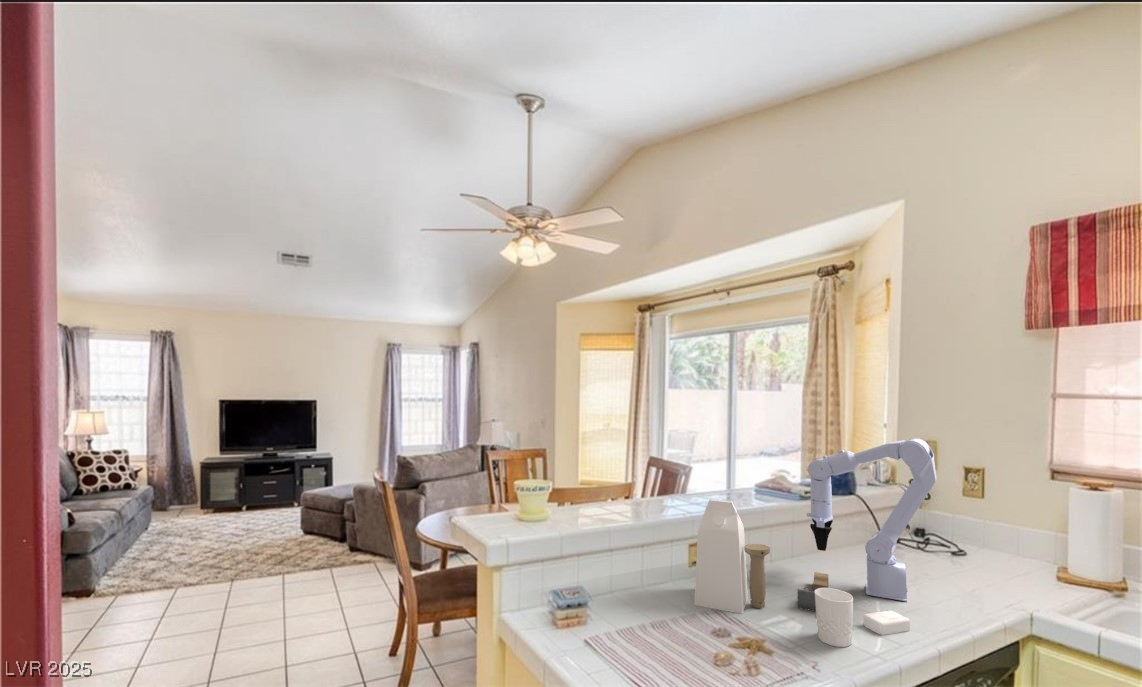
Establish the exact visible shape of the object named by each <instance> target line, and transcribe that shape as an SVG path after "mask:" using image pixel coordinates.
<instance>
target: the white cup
mask: <svg viewBox="0 0 1142 687" xmlns="http://www.w3.org/2000/svg"><path fill="white" fill-rule="evenodd" d="M815 606H816V611H815V615H816V616H815V618H816V625H817V635H818V639H819V640H820V641H822V642H823V643H824V644H827V645H830V646H832V647H836V648H847V647H849V646H850V645H851V644H852V642H853V641H852V637H853V636H852V634H853V633H852V631H853V622H854V597H853V595H852V594H851V593H849V592H846V591H844V590H842V589H838V588H833V587H829V588H818V589H816V590H815Z"/></svg>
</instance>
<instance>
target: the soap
mask: <svg viewBox="0 0 1142 687" xmlns="http://www.w3.org/2000/svg"><path fill="white" fill-rule="evenodd" d="M863 626H864V627H865V628H867V629H870V630H871V631H873V632H875V633H876V632H877V634H878V633H879V635H880V634H881V635H880V636H885V634H887V635H892V634H891V633H893V634H898V633H905V632H910V630H911V621H910V618H908V617H905V616H904V615H901V614H900V613H898V612H895V611H894V610H884V611H876V612H870V613H864V614H863Z"/></svg>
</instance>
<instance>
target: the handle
mask: <svg viewBox="0 0 1142 687" xmlns="http://www.w3.org/2000/svg"><path fill="white" fill-rule="evenodd" d="M744 550H745V553H746V554H748V555H749V557H750V565H749V566H750V567H749V568H750V569H749V594H750V603H751V606H752V607H754V608H755V609H763V608H764V607H765V606H766V605H765V604H766V593H767V590H766V588H767V587H766V573H765V570H766V569H765V557H766V556H767V555H769V554H770V552H771V548H770V546H768V545H766V544H763V543H762V544H760V543H749V544H745V546H744Z"/></svg>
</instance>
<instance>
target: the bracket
mask: <svg viewBox="0 0 1142 687" xmlns="http://www.w3.org/2000/svg"><path fill="white" fill-rule="evenodd" d="M797 608H798V609H800V608H802V610H805V609H807V611H811V610H814V611H813V612H816V606H815V592H814V591H811V590H809V588H807V587H804V588H803V589H802V588H797ZM808 609H809V610H808Z"/></svg>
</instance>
